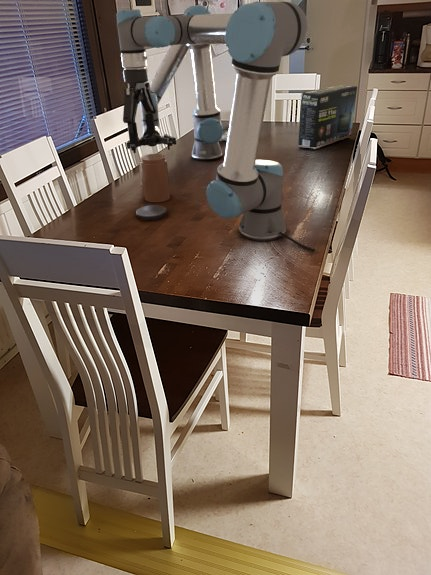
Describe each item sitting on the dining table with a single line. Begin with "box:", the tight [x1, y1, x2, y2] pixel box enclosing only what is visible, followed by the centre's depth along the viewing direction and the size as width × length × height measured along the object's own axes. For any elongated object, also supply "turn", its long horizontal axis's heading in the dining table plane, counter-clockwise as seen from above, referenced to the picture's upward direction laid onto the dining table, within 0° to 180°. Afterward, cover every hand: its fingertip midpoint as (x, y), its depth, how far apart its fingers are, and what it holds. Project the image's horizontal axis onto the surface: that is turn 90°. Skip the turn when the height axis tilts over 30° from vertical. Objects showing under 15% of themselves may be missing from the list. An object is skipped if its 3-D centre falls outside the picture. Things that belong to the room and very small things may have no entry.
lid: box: [135, 204, 167, 222], centre depth 165 cm, size 11×11×2 cm
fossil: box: [218, 130, 228, 142], centre depth 256 cm, size 18×11×15 cm
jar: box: [139, 153, 171, 203], centre depth 177 cm, size 10×10×16 cm
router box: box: [297, 84, 358, 151], centre depth 238 cm, size 36×11×27 cm, turn 134°
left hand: (151, 148), depth 180 cm, fingers open, 13 cm apart
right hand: (143, 139), depth 152 cm, fingers open, 13 cm apart
